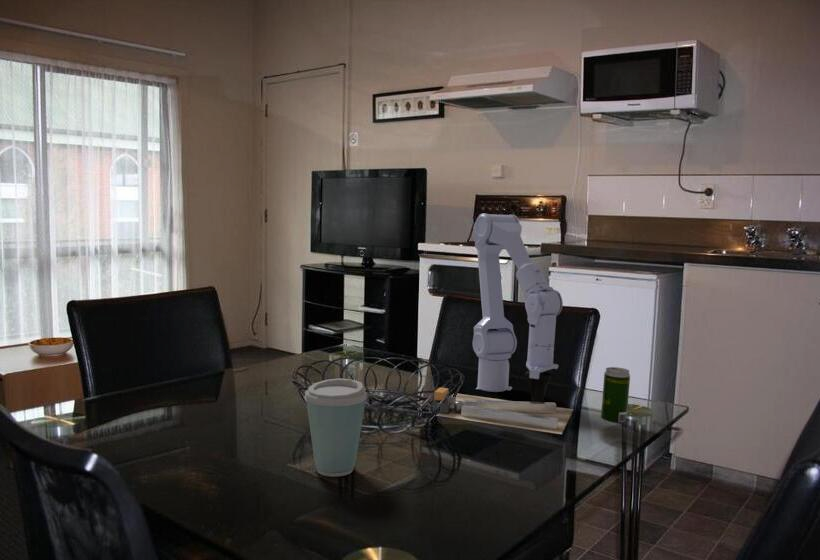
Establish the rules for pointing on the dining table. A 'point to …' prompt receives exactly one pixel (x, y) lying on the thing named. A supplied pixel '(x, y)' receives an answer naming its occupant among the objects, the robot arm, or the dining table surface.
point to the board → (560, 412)
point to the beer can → (615, 394)
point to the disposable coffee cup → (335, 424)
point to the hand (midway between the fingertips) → (537, 403)
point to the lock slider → (440, 393)
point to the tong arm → (509, 406)
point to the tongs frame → (498, 415)
